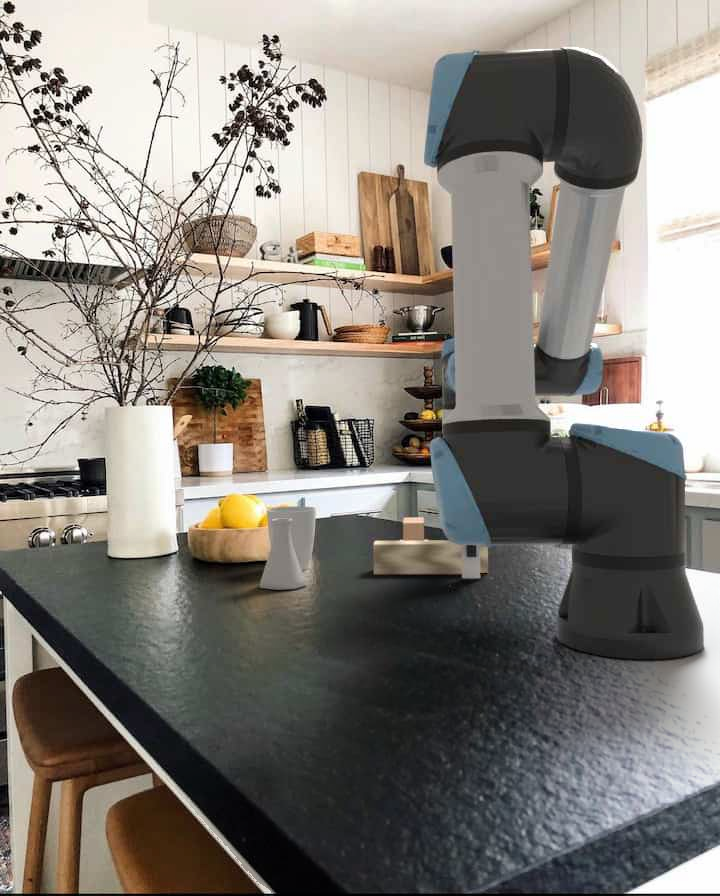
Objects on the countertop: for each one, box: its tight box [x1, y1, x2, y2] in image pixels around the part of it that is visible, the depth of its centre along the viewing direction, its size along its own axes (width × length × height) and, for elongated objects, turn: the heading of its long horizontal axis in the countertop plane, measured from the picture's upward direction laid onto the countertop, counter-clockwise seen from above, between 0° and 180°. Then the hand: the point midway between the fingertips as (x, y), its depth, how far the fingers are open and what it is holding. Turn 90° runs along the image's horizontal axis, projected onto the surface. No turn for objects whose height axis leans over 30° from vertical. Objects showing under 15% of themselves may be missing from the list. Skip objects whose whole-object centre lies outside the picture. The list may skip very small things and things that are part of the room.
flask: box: [259, 518, 307, 591], centre depth 122 cm, size 7×7×10 cm
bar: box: [372, 539, 489, 575], centre depth 131 cm, size 18×4×5 cm, turn 85°
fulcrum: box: [399, 516, 429, 541], centre depth 142 cm, size 8×5×7 cm, turn 176°
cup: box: [266, 505, 317, 572], centre depth 136 cm, size 8×8×10 cm
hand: (468, 570), depth 131 cm, fingers open, 13 cm apart
